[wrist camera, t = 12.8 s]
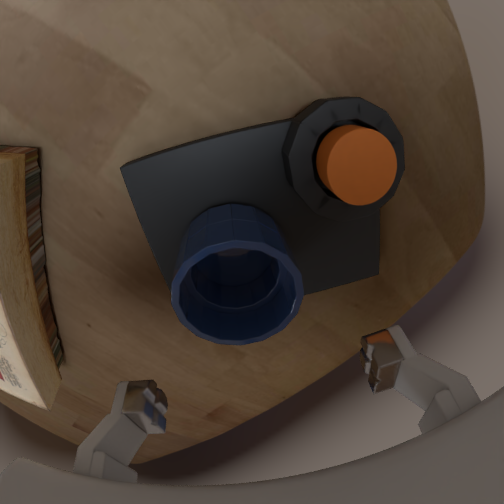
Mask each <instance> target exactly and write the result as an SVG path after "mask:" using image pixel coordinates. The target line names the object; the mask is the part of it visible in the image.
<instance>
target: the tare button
mask: <svg viewBox="0 0 504 504" xmlns="http://www.w3.org/2000/svg"><path fill="white" fill-rule="evenodd" d="M316 167H317V171H318V174H319V177H320V179H321V180H322V182H323V183H324V184H325V186H326V187H327V188H328V189H330V190H331V191H332V192H333V193H334V194H335V195H336V196H337V197H339V198H340V199H341V200H343V201H344V202H346V203H348V204H352V205H367V204H371V203H373V202H375V201H377V200H379V199H380V198H381V197H383V196H384V195H385V194H386V193H387V191H388V190H389V189H390V187H391V186H392V184H393V182H394V179H395V176H396V171H397V159H396V154H395V151H394V149H393V147H392V145H391V143H390V142H389V140H388V139H387V138H386V137H385V136H384V135H382V134H381V133H379V132H378V131H375V130H373V129H369V128H365V127H361V126H357V125H343V126H340V127H337V128H335V129H333V130H332V131H331V132H329V133H328V134H327V135H326V136H325V137H324V139H323V140H322V142H321V143H320V146H319V148H318V151H317V156H316Z"/></svg>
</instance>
